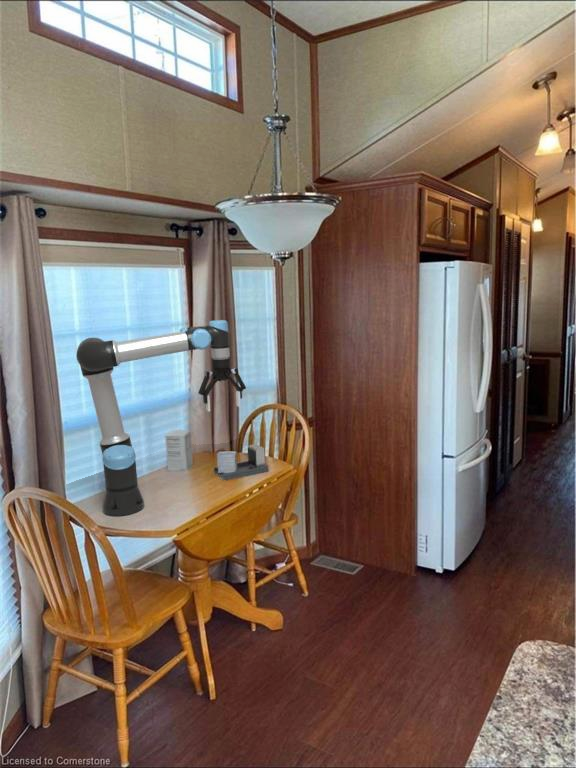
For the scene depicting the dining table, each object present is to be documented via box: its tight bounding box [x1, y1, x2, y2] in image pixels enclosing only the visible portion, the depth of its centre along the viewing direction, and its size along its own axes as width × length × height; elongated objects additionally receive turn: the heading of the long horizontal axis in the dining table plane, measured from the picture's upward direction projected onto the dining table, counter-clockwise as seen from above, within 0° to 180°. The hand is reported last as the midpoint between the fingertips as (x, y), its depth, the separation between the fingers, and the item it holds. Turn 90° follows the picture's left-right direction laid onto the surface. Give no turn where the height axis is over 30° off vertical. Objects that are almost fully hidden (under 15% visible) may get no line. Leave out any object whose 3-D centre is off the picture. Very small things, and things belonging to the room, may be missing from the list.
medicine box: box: [216, 450, 238, 473], centre depth 248 cm, size 8×4×9 cm, turn 84°
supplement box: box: [164, 429, 194, 472], centre depth 261 cm, size 10×9×17 cm
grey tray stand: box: [213, 443, 269, 481], centre depth 251 cm, size 21×12×10 cm, turn 119°
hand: (223, 408), depth 236 cm, fingers open, 13 cm apart
